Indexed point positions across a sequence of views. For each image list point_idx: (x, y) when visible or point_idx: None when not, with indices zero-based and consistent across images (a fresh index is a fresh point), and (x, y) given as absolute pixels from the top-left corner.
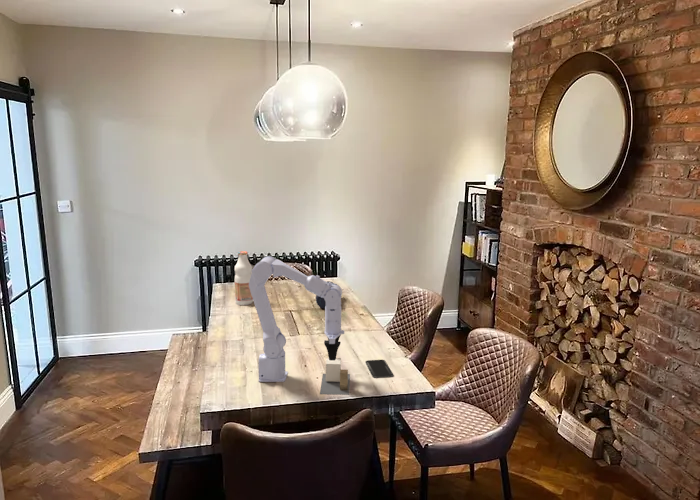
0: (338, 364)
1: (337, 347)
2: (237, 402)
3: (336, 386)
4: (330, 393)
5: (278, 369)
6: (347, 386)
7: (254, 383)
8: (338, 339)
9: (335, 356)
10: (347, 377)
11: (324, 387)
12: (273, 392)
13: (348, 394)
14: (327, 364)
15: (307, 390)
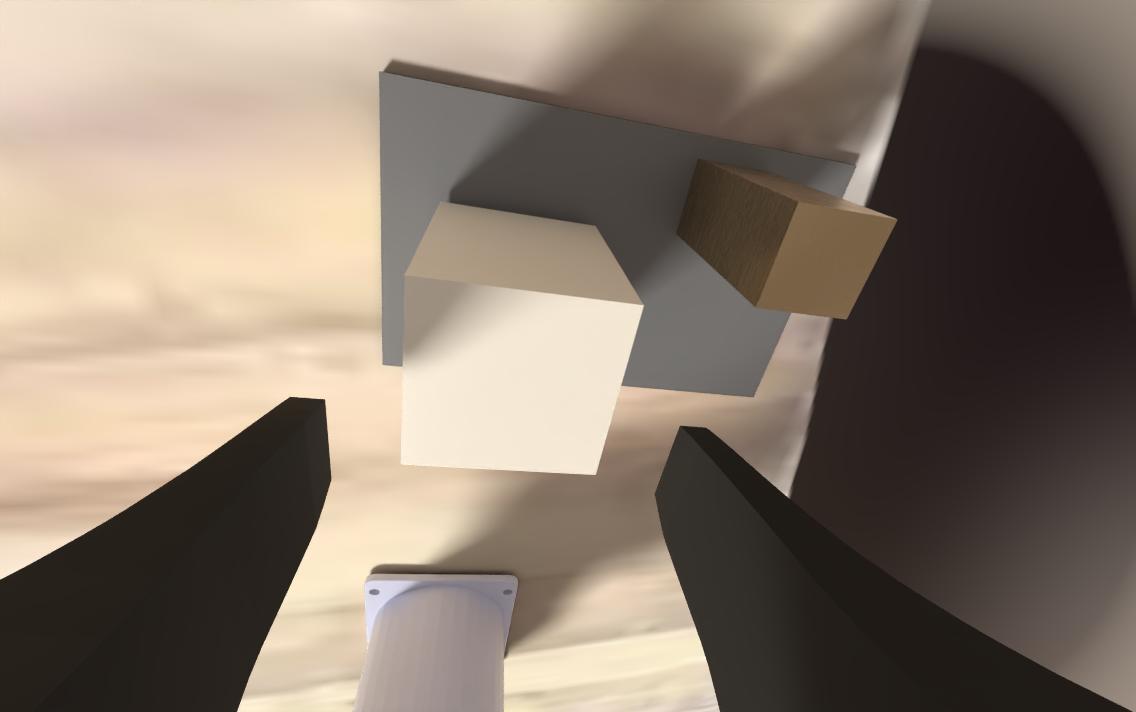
0: (636, 329)
1: (1004, 670)
2: (691, 687)
3: (664, 267)
4: (770, 325)
5: (499, 684)
6: (787, 179)
7: (512, 672)
8: (130, 618)
9: (747, 475)
10: (853, 204)
11: (656, 362)
12: (633, 601)
13: (847, 174)
14: (599, 452)
15: (653, 460)
